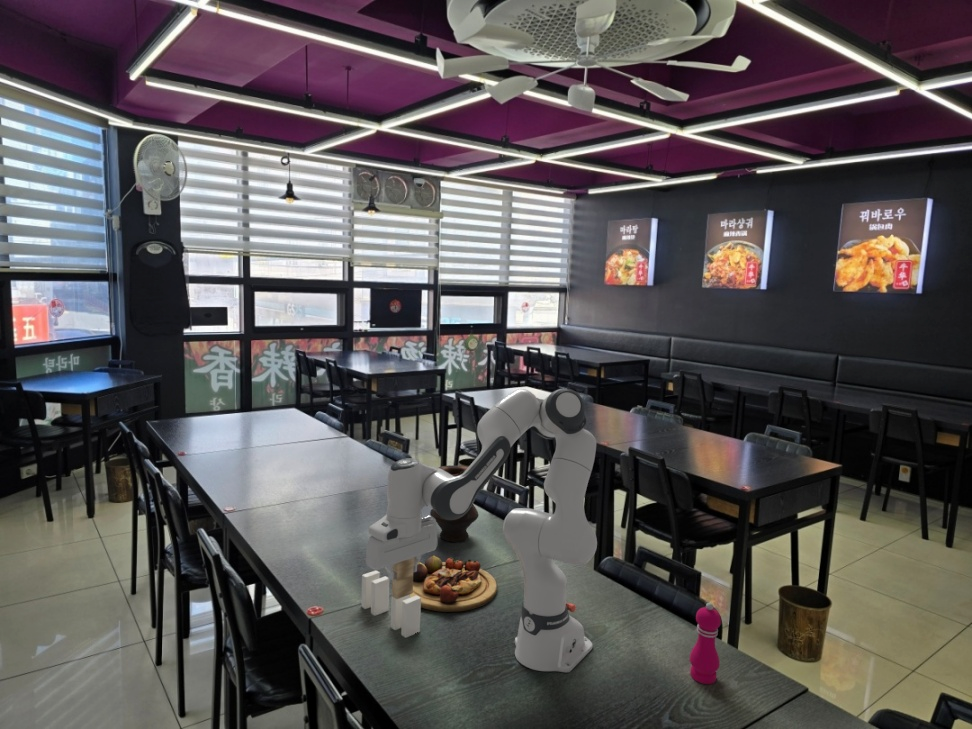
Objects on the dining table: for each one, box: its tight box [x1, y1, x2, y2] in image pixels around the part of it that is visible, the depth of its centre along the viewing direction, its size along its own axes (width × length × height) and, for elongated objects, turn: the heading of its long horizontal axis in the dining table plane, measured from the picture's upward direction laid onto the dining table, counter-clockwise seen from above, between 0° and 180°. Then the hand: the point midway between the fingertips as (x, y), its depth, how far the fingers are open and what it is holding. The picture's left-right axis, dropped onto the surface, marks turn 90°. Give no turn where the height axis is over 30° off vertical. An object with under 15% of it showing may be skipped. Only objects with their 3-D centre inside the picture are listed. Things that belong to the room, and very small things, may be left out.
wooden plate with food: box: [410, 555, 498, 613], centre depth 202 cm, size 32×32×8 cm
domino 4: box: [390, 594, 410, 631], centre depth 179 cm, size 5×2×10 cm, turn 134°
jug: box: [429, 464, 479, 543], centre depth 240 cm, size 21×18×30 cm
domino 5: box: [400, 595, 422, 639], centre depth 175 cm, size 5×2×10 cm, turn 134°
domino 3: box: [391, 557, 414, 599], centre depth 160 cm, size 5×2×10 cm, turn 134°
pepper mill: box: [689, 602, 722, 685], centre depth 160 cm, size 7×7×20 cm
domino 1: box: [360, 570, 381, 610], centre depth 189 cm, size 5×2×10 cm, turn 134°
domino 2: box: [370, 575, 391, 617], centre depth 186 cm, size 5×2×10 cm, turn 134°
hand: (402, 575), depth 160 cm, fingers closed on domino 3, 5 cm apart
